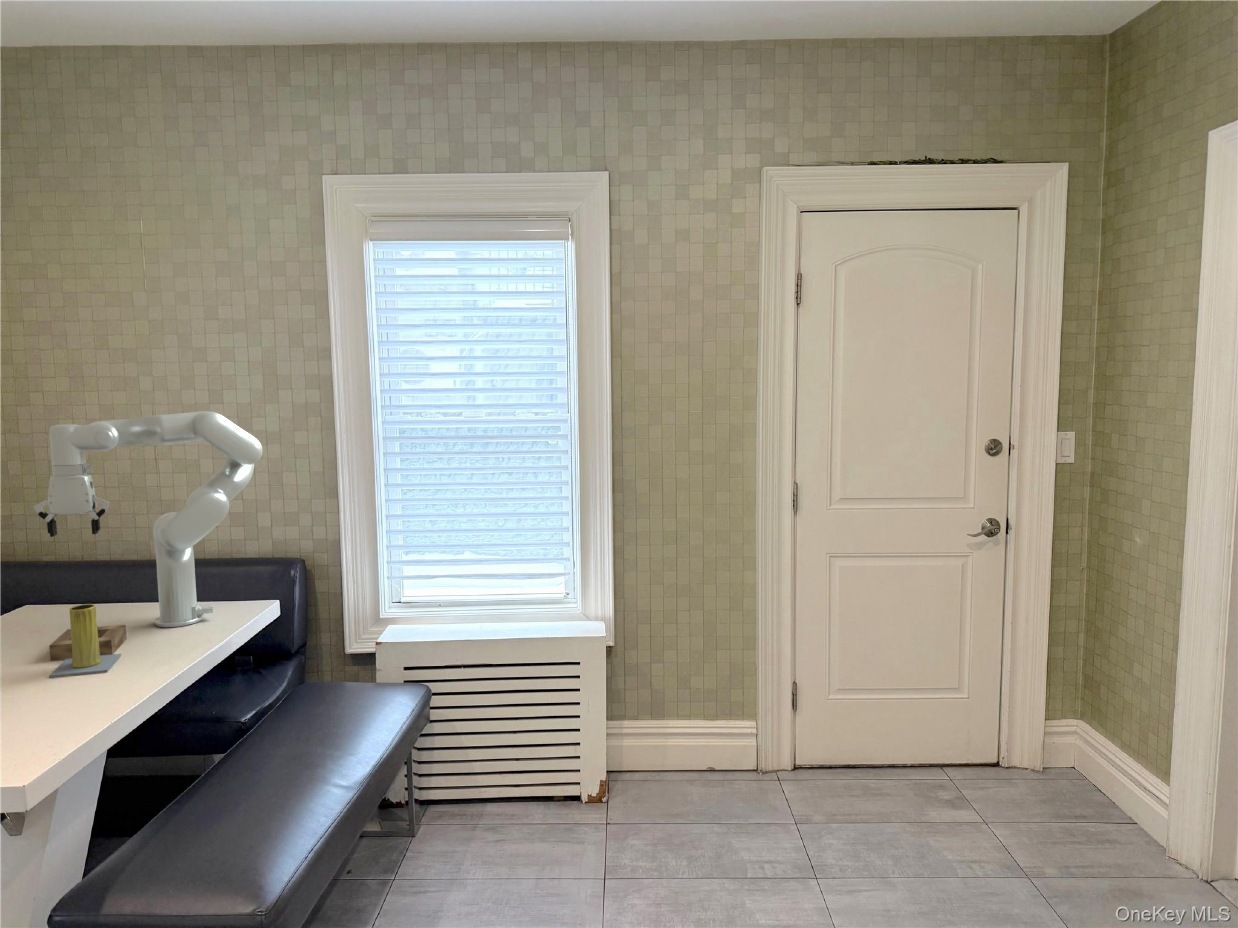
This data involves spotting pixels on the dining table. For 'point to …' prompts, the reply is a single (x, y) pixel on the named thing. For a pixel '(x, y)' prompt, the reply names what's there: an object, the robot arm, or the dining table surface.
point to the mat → (102, 667)
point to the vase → (84, 636)
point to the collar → (107, 638)
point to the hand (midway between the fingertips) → (74, 534)
